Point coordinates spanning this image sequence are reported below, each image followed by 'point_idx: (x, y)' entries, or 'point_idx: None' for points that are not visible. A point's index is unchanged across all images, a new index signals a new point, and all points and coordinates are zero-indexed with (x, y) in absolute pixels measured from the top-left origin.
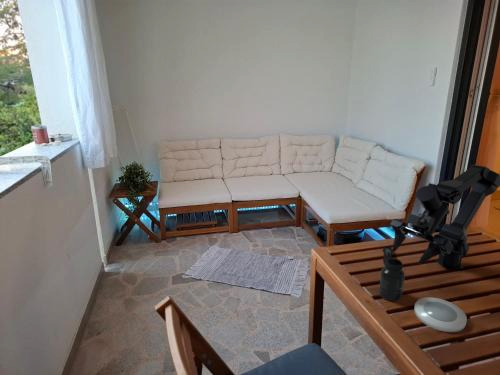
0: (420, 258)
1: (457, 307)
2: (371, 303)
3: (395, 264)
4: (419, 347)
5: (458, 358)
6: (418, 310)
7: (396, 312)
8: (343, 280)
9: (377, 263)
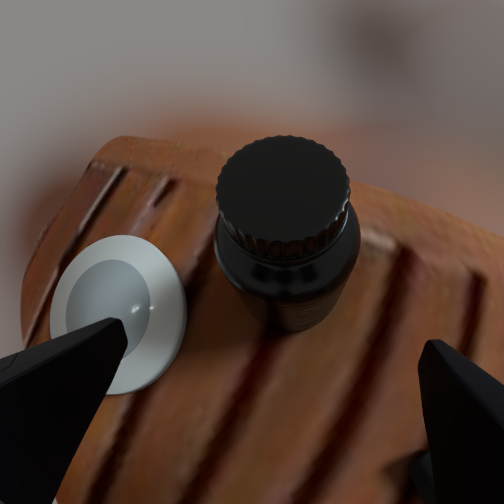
0: (92, 332)
1: None
2: None
3: (252, 159)
4: (126, 166)
5: (66, 206)
6: (154, 256)
7: None
8: (452, 219)
9: None
